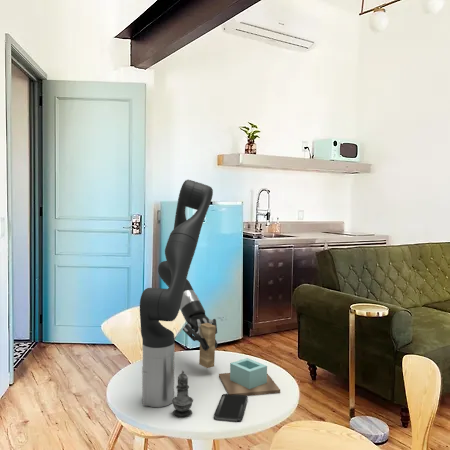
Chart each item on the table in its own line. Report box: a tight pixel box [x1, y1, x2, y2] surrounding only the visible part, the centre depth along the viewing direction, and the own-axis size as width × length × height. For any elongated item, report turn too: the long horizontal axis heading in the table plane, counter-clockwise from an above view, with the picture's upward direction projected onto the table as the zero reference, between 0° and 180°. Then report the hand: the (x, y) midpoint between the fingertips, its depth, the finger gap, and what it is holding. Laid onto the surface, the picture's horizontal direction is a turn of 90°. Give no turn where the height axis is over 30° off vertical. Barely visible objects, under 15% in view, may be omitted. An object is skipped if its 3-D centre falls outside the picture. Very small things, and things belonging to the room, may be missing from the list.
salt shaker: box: [171, 370, 194, 419], centre depth 125 cm, size 6×6×12 cm
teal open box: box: [229, 357, 268, 389], centre depth 144 cm, size 8×9×6 cm
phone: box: [213, 393, 249, 423], centre depth 128 cm, size 8×1×15 cm
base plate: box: [218, 372, 281, 397], centre depth 145 cm, size 16×16×1 cm
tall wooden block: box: [198, 323, 216, 369], centre depth 153 cm, size 3×4×14 cm, turn 41°
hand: (211, 348), depth 152 cm, fingers closed on tall wooden block, 3 cm apart
